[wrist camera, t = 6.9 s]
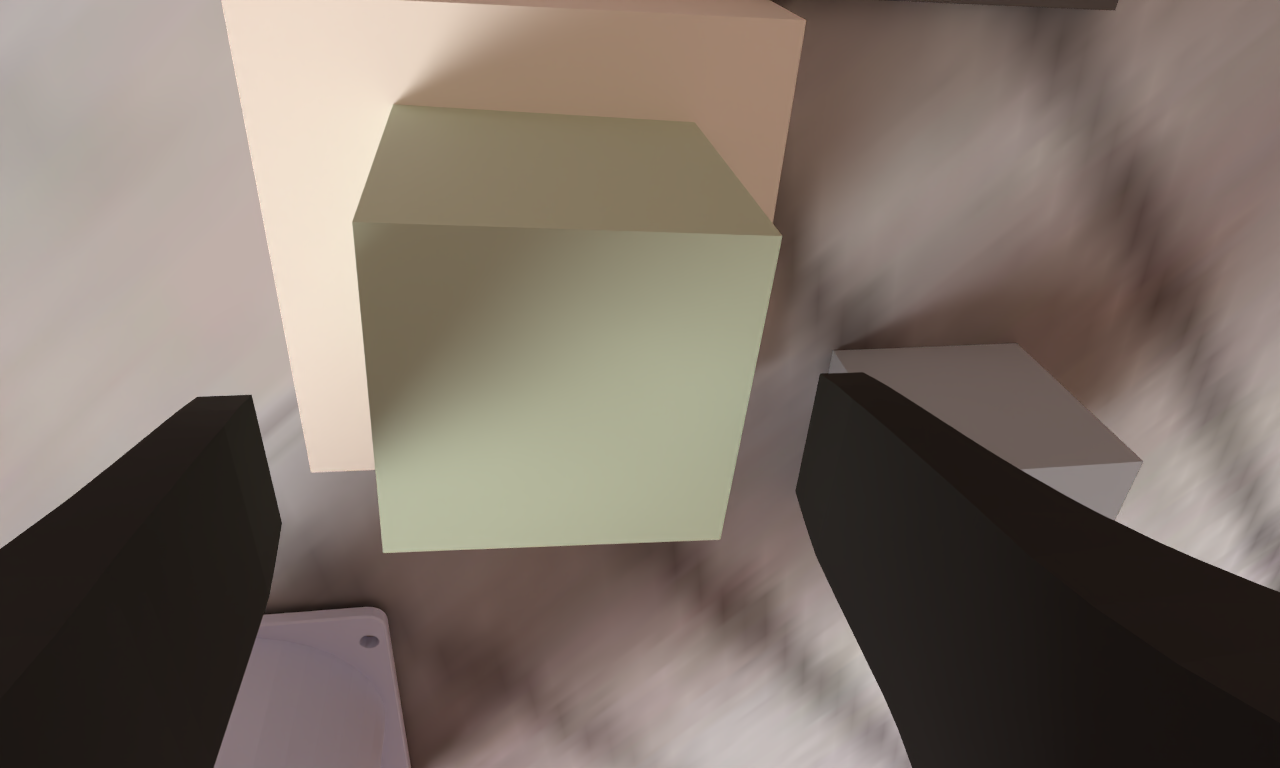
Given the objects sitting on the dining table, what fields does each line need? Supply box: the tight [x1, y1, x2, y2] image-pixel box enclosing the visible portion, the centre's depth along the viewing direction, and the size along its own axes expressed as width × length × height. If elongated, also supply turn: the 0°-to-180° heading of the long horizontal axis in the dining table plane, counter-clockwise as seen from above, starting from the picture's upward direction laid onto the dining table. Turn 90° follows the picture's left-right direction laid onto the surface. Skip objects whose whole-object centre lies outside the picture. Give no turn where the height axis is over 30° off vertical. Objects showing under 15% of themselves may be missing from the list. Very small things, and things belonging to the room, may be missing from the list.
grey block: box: [828, 343, 1143, 521], centre depth 20 cm, size 5×5×5 cm
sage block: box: [352, 104, 782, 553], centre depth 13 cm, size 5×5×5 cm
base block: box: [221, 0, 806, 473], centre depth 16 cm, size 9×9×3 cm
